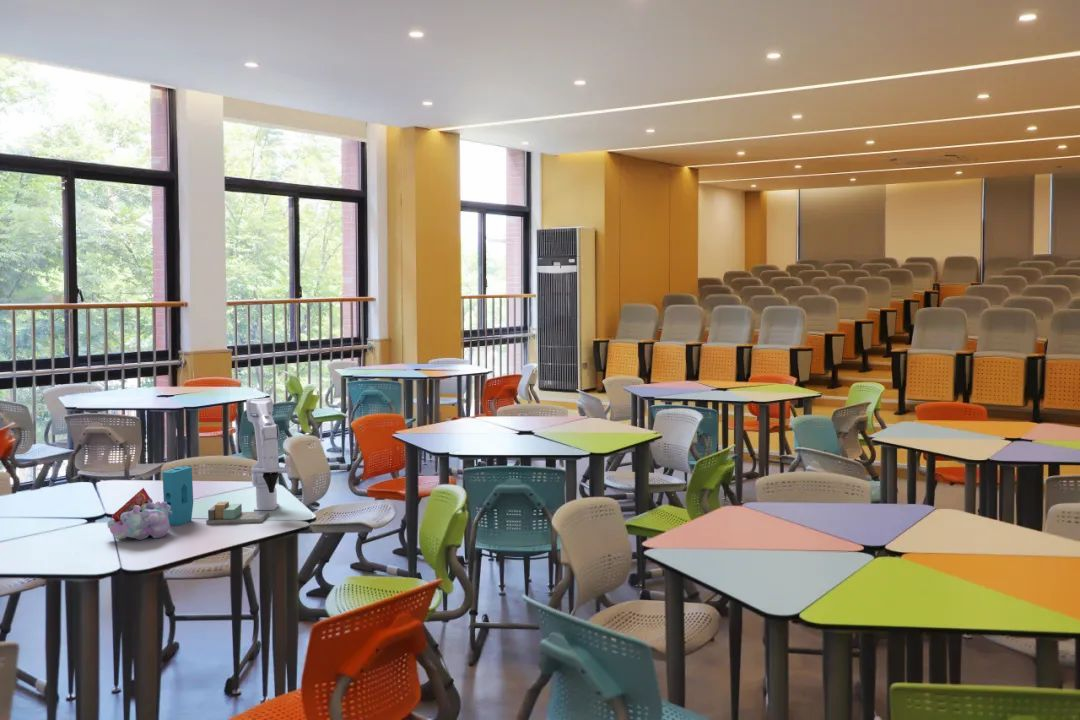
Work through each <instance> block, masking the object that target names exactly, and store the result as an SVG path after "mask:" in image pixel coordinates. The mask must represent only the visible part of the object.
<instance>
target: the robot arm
mask: <svg viewBox="0 0 1080 720" xmlns="http://www.w3.org/2000/svg"><path fill="white" fill-rule="evenodd" d="M245 406H246V407H245V408H246V409H245V410H246V416H247V417H246V418H247V420H248V422H250V423H252V425H253V426H252V427H253V428H254V439H255V446H256V447H255V448H256V456H257V462H256V463H255V464H254V465H252V467H251V469H250V474H251V476H250V477H251V485H252V486H253V487H255V494H256V495H255V497H256V500H255V502H256V507H255V508H253V511H275V510H276V509H277V508H278V507H279V506H280V503H278V497H277V495H278V494H277V488H276V486H277V484H279V480H280V478H279V476H280V474H291V472H292V467H291V466H290V467H286V466H284V467H282V466H280V465H279V446H278V445H279V444H278V440H279V437H280V427H279V425H278V424H276V423H275V420H274V418H273V412H274V401H273V398H272V397H264V398H247V399H246V402H245Z"/></svg>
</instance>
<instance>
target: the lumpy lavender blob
mask: <svg viewBox="0 0 1080 720" xmlns="http://www.w3.org/2000/svg"><path fill="white" fill-rule="evenodd" d="M153 501H154V500H153V499H152V497H150V495H149V494H148V492H147V491H146V489H145V488H144V487H142V488H141V489H140V490H139V491H138V492H136V493H135V495H133V496H132V497H131V498H130V499H129V500H128V501H127V502H125V504H123V505H122V506H121V507H120V508H119V509H118V510H116V511H115V512H114V513H113V514H112V515H111V518H110V519H108V520H109V521H107V528H108V529H109V531H110V533H111V534H112V536H113V537H114V538H115V539H116V540H124V539H126V538H127V537H128V538H131V539H136V540H138V541H142V540H145V539H146V538H149V536H151V537H152V538H154V539H160V538H163V537H165V535H167V534H168V532H169V530H170V529H171V528H170V527H171V525H170V524H169V519H168V515H171V514H172V511H170V509H171V506H170V505H167V502H164V501H162V502H160V501H156V502H154V503H153Z"/></svg>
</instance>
